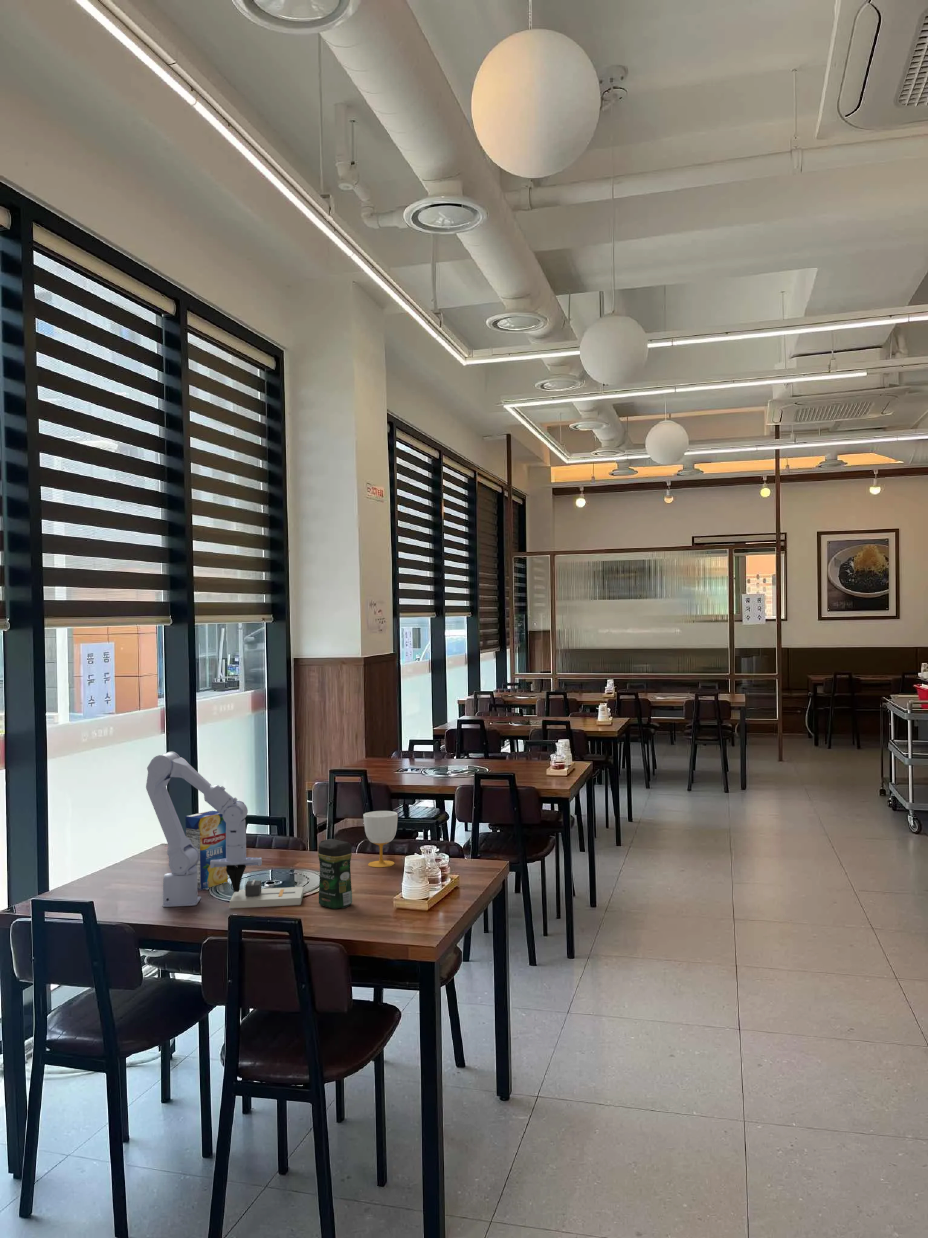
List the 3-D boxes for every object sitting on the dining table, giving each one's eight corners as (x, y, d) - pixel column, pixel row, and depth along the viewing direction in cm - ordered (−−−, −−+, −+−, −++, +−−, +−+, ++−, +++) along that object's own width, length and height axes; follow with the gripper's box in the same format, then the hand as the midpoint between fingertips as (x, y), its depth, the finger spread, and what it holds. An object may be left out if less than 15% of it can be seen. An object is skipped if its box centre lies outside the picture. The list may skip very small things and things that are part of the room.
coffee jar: (313, 905, 257) (312, 840, 258) (334, 899, 263) (334, 835, 264) (336, 911, 251) (335, 844, 252) (357, 905, 257) (356, 839, 258)
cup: (366, 860, 311) (365, 811, 311) (400, 860, 310) (399, 810, 311) (361, 869, 299) (360, 817, 299) (396, 868, 298) (395, 817, 299)
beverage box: (185, 887, 280) (185, 816, 280) (213, 879, 289) (212, 810, 290) (200, 890, 276) (199, 818, 277) (228, 882, 285) (227, 812, 286)
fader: (245, 896, 260) (245, 884, 260) (247, 891, 265) (247, 880, 265) (259, 895, 260) (259, 883, 260) (261, 891, 265) (261, 879, 265)
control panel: (229, 908, 256) (229, 900, 256) (235, 896, 268) (235, 889, 268) (300, 905, 258) (300, 897, 258) (303, 893, 270) (303, 886, 270)
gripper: (208, 848, 258) (208, 896, 257) (259, 846, 259) (260, 893, 259) (212, 843, 265) (212, 889, 264) (262, 841, 266) (262, 887, 266)
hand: (236, 891), depth 262 cm, fingers closed
